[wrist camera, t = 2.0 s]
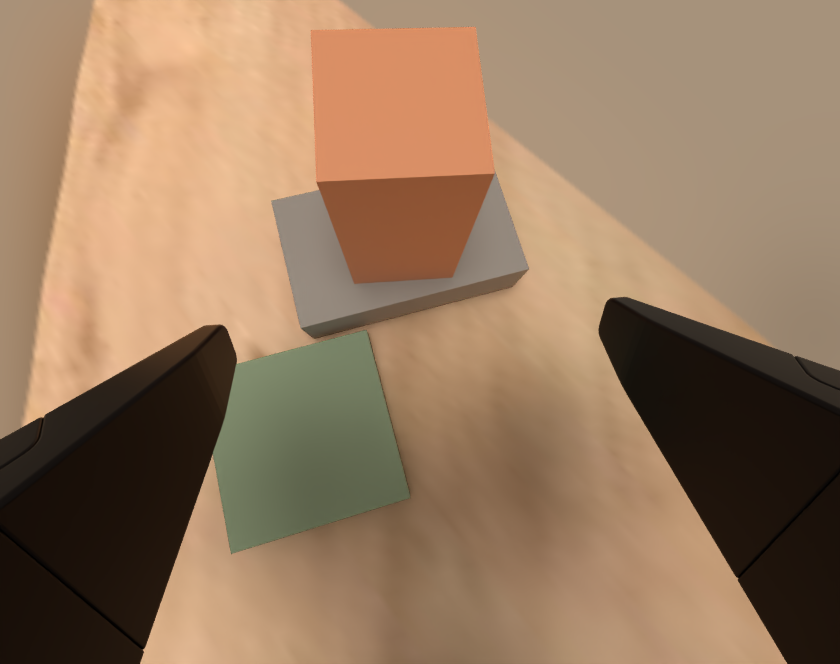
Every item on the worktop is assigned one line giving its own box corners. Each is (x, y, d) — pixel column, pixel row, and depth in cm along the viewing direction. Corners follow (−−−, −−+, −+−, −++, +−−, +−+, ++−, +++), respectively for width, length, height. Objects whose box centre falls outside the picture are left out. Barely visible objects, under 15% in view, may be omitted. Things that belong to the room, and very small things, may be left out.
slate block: (512, 286, 23) (529, 269, 20) (314, 338, 22) (300, 327, 19) (477, 183, 24) (488, 152, 21) (287, 227, 23) (271, 200, 20)
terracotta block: (452, 277, 20) (494, 173, 11) (354, 283, 19) (316, 181, 11) (443, 188, 21) (475, 27, 12) (349, 193, 20) (311, 30, 12)
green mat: (409, 493, 20) (410, 497, 20) (239, 546, 20) (231, 553, 19) (367, 333, 22) (366, 329, 21) (208, 375, 21) (198, 374, 20)
